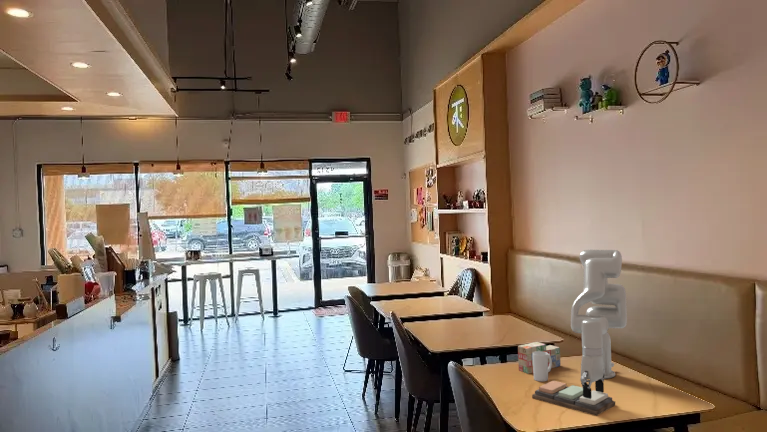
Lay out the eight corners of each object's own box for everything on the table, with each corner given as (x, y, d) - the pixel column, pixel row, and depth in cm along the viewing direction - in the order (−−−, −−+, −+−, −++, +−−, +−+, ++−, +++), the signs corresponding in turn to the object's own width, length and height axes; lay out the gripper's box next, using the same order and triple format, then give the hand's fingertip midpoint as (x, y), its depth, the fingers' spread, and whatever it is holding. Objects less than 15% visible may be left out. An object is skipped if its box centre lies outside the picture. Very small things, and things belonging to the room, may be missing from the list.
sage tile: (572, 389, 229) (572, 385, 229) (586, 392, 225) (586, 388, 225) (558, 395, 222) (558, 392, 222) (572, 399, 218) (572, 395, 218)
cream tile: (593, 394, 223) (593, 390, 223) (607, 397, 218) (607, 393, 218) (579, 401, 215) (579, 397, 215) (594, 405, 211) (594, 401, 211)
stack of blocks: (551, 363, 276) (550, 338, 276) (560, 366, 271) (560, 341, 270) (518, 370, 266) (517, 345, 266) (527, 374, 261) (526, 348, 261)
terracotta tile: (553, 384, 236) (553, 380, 236) (566, 387, 232) (566, 383, 232) (539, 390, 229) (538, 387, 229) (552, 394, 224) (551, 390, 224)
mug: (540, 382, 248) (539, 356, 247) (530, 378, 254) (529, 352, 253) (557, 378, 252) (556, 352, 252) (547, 374, 258) (546, 349, 258)
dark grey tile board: (551, 388, 239) (551, 382, 239) (615, 405, 218) (615, 397, 218) (532, 398, 229) (532, 390, 229) (596, 415, 208) (596, 408, 208)
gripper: (594, 345, 225) (595, 387, 225) (572, 354, 213) (573, 398, 214) (612, 348, 219) (613, 391, 219) (590, 357, 208) (591, 402, 208)
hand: (593, 394), depth 216 cm, fingers open, 9 cm apart
